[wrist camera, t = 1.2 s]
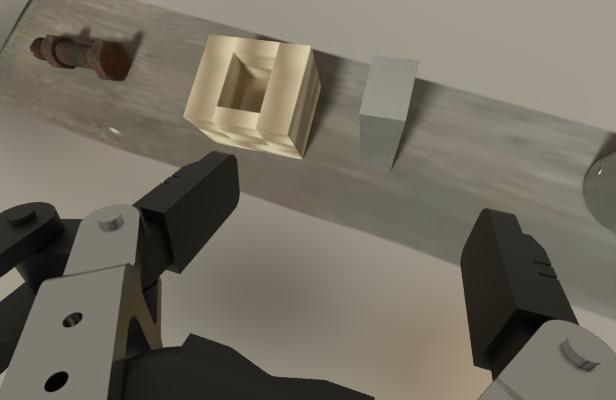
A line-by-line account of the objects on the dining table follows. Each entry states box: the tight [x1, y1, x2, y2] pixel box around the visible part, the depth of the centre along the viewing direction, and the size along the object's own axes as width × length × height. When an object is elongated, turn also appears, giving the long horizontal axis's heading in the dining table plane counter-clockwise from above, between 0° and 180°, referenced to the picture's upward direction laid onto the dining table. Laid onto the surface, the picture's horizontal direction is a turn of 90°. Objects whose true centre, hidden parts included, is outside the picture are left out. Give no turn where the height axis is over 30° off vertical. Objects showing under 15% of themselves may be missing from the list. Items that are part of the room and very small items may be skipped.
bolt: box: [30, 35, 130, 81], centre depth 46 cm, size 6×5×15 cm
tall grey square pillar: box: [359, 56, 418, 172], centre depth 31 cm, size 4×5×14 cm
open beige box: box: [183, 35, 321, 159], centre depth 37 cm, size 12×10×8 cm
